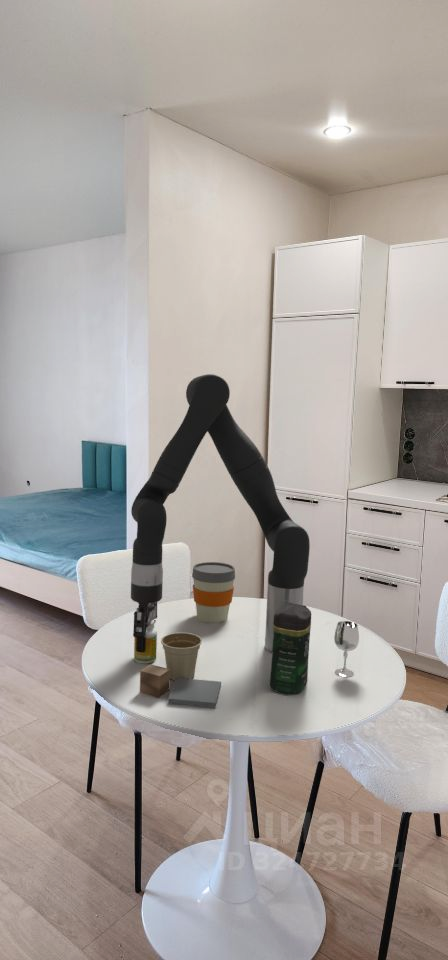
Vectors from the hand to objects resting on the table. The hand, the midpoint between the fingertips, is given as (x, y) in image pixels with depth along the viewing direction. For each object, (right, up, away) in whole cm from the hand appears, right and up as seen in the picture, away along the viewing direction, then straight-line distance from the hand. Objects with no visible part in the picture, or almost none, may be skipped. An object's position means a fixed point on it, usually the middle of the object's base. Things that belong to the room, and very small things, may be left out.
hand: (145, 644), depth 154 cm
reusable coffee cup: (+16, 0, +32) cm, 35 cm away
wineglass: (+48, -6, -3) cm, 48 cm away
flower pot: (+9, -5, -8) cm, 13 cm away
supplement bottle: (0, -4, +1) cm, 4 cm away
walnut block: (+4, -6, -16) cm, 18 cm away
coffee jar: (+34, -7, -11) cm, 36 cm away
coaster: (+13, -6, -17) cm, 22 cm away
